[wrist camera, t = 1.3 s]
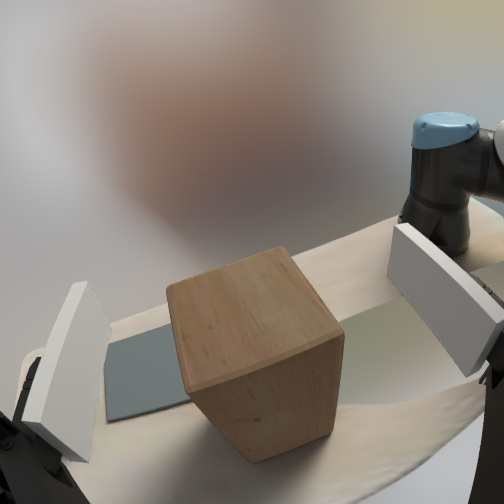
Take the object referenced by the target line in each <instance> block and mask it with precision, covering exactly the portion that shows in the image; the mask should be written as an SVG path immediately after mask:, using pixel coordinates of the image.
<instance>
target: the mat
mask: <svg viewBox="0 0 504 504" xmlns="http://www.w3.org/2000/svg"><path fill="white" fill-rule="evenodd" d="M105 390H106V409H107V420H108V421H109V422H111V421H116V420H120V419H125V418H129V417H133V416H137V415H141V414H145V413H149V412H153V411H157V410H160V409H164V408H168V407H171V406H175V405H178V404H182V403H185V402H188V401H191V399H190V397H189V396H188V395H187V394H186V393H185V389H184V385H183V380H182V376H181V371H180V366H179V361H178V356H177V351H176V346H175V341H174V336H173V330H172V325H171V323H170V324H167V325H164V326H162V327H159V328H156V329H153V330H150V331H147V332H144V333H141V334H138V335H135V336H132V337H129V338H126V339H123V340H119V341H116V342H113V343H110V344H108V349H107V353H106V358H105Z"/></svg>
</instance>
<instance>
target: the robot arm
mask: <svg viewBox="0 0 504 504" xmlns="http://www.w3.org/2000/svg"><path fill="white" fill-rule="evenodd" d="M411 146H412V166H411V181H410V192H409V195H408V197H407V200H406V202H405V204H404V206H403V209H402V211H401V213H400V215H399V218H398V224H397V225H394V231H393V239H392V246H391V253H390V260H389V266H388V272H387V277H388V278H389V279H390V280H391V282H392V283H393V284H394V285H395V286H396V288H397V289H398V290H399V291H400V292H401V294H402V295H403V296H404V297H405V298H406V300H407V301H408V302H409V303H410V304H411V306H412V307H413V308H414V309H415V311H416V312H417V313H418V314H419V316H420V317H421V318H422V319H423V320H424V322H425V323H426V324H427V326H428V327H429V328H430V330H432V332H433V334H434V335H435V336H436V337H437V339H438V340H439V341H440V343H441V344H442V345H443V347H444V348H445V349H446V351H447V352H448V353H449V355H450V356H451V358H452V359H453V360H454V362H455V363H456V364H457V366H458V367H459V368H460V370H461V371H462V373H463V374H464V376H465V377H466V378H467V377H469V376H470V375H472V374H473V373H475V372H477V371H479V370H480V368H481V367H482V365H483V363H484V362H485V360H487V361H488V362H489V366H488V367H487V369H486V371H485V372H484V374H483V375H482V377H481V378H480V380H479V384H481V383H482V382H483V380H484V379H485V377H487V379H486V382H485V384H484V385H486V400H485V412H484V423H483V431H482V439H481V445H480V451H479V458H478V463H477V468H476V473H475V477H474V482H473V486H472V490H471V494H470V498H469V501H468V504H504V302H503V301H502V300H501V299H500V298H499V297H498V296H497V295H496V294H495V293H493V292H492V290H491V289H490V288H489V287H486V285H485V284H484V283H483V282H482V281H481V280H480V279H479V278H478V277H476V276H474V275H473V274H471V273H469V272H465V271H464V270H463V269H462V268H460V267H459V266H458V265H457V264H456V263H455V262H454V261H453V260H452V259H450V258H452V257H455V256H458V255H460V254H461V253H463V252H464V251H465V249H466V248H467V245H468V241H469V238H470V228H469V213H468V203H469V197H470V195H475V196H479V197H483V198H488V199H491V200H495V201H499V202H503V203H504V120H503V121H501V123H499V125H498V126H497V128H496V131H492V130H488V129H482V128H480V126H479V123H478V121H477V119H475V118H474V117H472V116H469V115H463V114H461V113H454V112H433V113H428V114H424V115H421V116H420V117H418V118H417V119H416V120H415V122H414V124H413V138H412V141H411ZM111 331H112V328H111V326H110V324H109V322H108V320H107V319H106V317H105V315H104V313H103V311H102V309H101V307H100V304H99V303H98V300H97V298H96V296H95V294H94V292H93V290H92V288H91V285H90V283H89V281H85V282H79V283H74V284H73V285H72V287H71V289H70V292H69V294H68V296H67V298H66V300H65V302H64V305H63V307H62V309H61V311H60V313H59V316H58V318H57V321H56V323H55V325H54V327H53V330H52V332H51V335H50V337H49V340H48V342H47V345H46V347H45V350H44V352H43V355H42V357H37V358H36V359H35V361H34V362H33V363H32V365H31V366H30V368H29V370H28V373H27V376H26V381H25V382H24V384H23V387H22V388H23V390H21V393H20V396H19V400H18V403H17V406H16V409H15V413H14V416H13V420H12V422H11V421H10V420H9V419H8V418H7V417H6V416H5V415H4V414H3V413H2V412H1V411H0V504H90V503H89V501H88V500H87V498H86V497H85V495H84V494H83V493H82V491H81V490H80V488H79V487H78V485H77V484H76V482H75V480H74V479H73V477H72V476H71V474H70V472H69V471H68V469H67V468H66V466H65V465H64V464H63V463H62V462H61V456H62V455H64V456H65V457H66V458H68V459H69V460H70V461H75V462H86V463H89V460H90V451H91V442H92V434H93V426H94V419H95V412H96V406H97V400H98V394H99V388H100V383H101V378H102V373H103V368H104V363H105V358H106V353H107V349H108V344H109V340H110V336H111Z"/></svg>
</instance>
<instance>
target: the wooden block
mask: <svg viewBox="0 0 504 504" xmlns="http://www.w3.org/2000/svg"><path fill="white" fill-rule="evenodd" d="M166 294H167V301H168V307H169V313H170V319H171V325H172V330H173V336H174V341H175V346H176V351H177V356H178V361H179V366H180V371H181V376H182V380H183V385H184V389H185V393H186V394H187V395H188V396H189V397H190V399H191V400H192V401H193V402H194V403H195V404H196V406H197V407H198V408H199V409H200V410H201V411H202V413H203V414H204V415H205V416H206V417H207V418H208V419H209V420H210V422H211V423H212V424H213V425H214V426H215V427H216V428H217V429H218V430H219V431H220V432H221V433H222V435H223V436H224V437H225V438H226V439H227V440H228V441H229V442H230V443H231V444H232V445H233V446H234V447H235V448H236V449H237V450H238V451H239V452H240V453H241V454H242V455H243V456H244V457H245V458H246V459H247V460H248V461H249V462H250V463H257V462H260V461H263V460H266V459H269V458H271V457H274V456H277V455H280V454H282V453H285V452H287V451H290V450H293V449H295V448H297V447H300V446H302V445H305V444H307V443H309V442H312V441H314V440H316V439H319V438H321V437H323V436H325V435H327V434H330V433H331V432H332V431H333V428H334V421H335V415H336V408H337V400H338V394H339V386H340V378H341V369H342V359H343V349H344V338H345V335H344V330H343V329H342V327H341V326H340V325H339V323H338V322H337V320H336V319H335V317H334V316H333V315H332V313H331V312H330V310H329V309H328V308H327V306H326V305H325V303H324V302H323V301H322V299H321V298H320V296H319V295H318V294H317V292H316V291H315V289H314V288H313V287H312V285H311V284H310V283H309V281H308V280H307V278H306V277H305V276H304V274H303V273H302V272H301V270H300V269H299V267H298V266H297V265H296V263H295V262H294V261H293V259H292V258H291V256H290V255H289V254H288V252H287V251H286V250H285V248H284V247H281V246H280V247H276V248H273V249H270V250H267V251H265V252H261V253H259V254H256V255H253V256H250V257H247V258H245V259H242V260H239V261H236V262H234V263H231V264H228V265H225V266H222V267H219V268H216V269H214V270H211V271H208V272H205V273H203V274H200V275H197V276H194V277H191V278H188V279H186V280H183V281H180V282H177V283H174V284H171V285H169V286H168V287H167V289H166Z"/></svg>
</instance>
